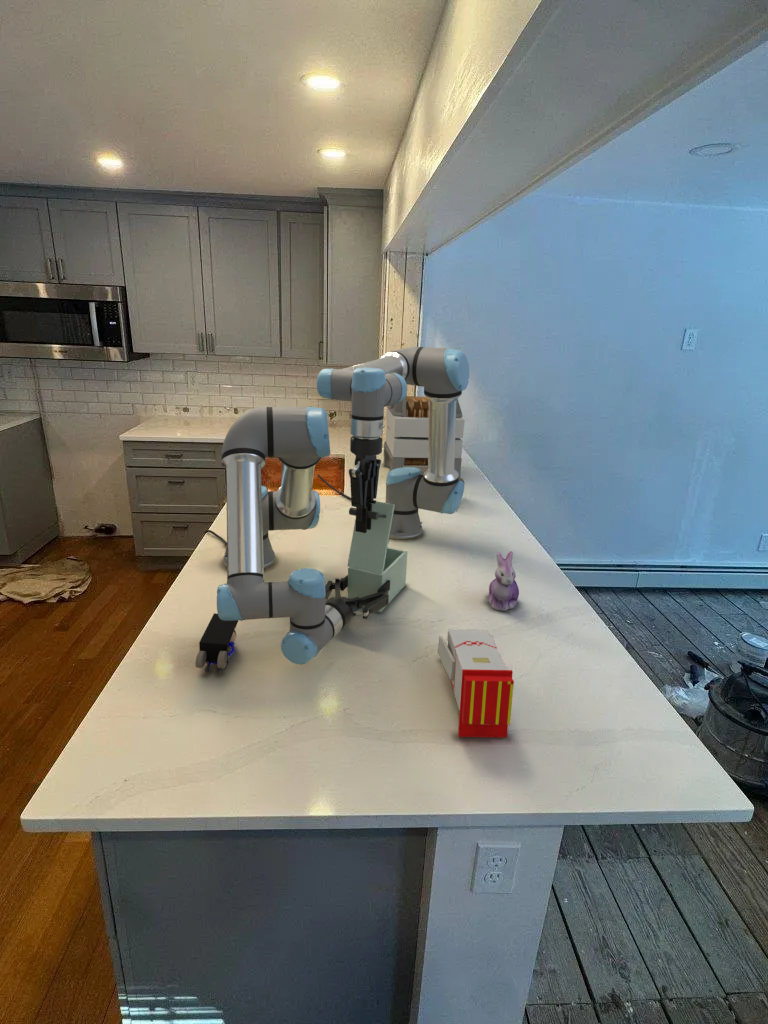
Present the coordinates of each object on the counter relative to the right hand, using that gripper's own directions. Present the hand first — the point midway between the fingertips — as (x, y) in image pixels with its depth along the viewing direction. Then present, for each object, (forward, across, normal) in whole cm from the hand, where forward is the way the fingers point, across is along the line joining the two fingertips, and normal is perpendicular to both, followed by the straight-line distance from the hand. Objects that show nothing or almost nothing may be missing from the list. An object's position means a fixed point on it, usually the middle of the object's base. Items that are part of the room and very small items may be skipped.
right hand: (363, 529), depth 140 cm
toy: (+23, -19, -35) cm, 46 cm away
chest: (+23, +11, 0) cm, 25 cm away
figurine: (+23, +22, -32) cm, 45 cm away
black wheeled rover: (+23, -33, +18) cm, 45 cm away
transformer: (+22, +133, +33) cm, 139 cm away
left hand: (+16, +6, 0) cm, 17 cm away
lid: (+3, +5, 0) cm, 6 cm away
